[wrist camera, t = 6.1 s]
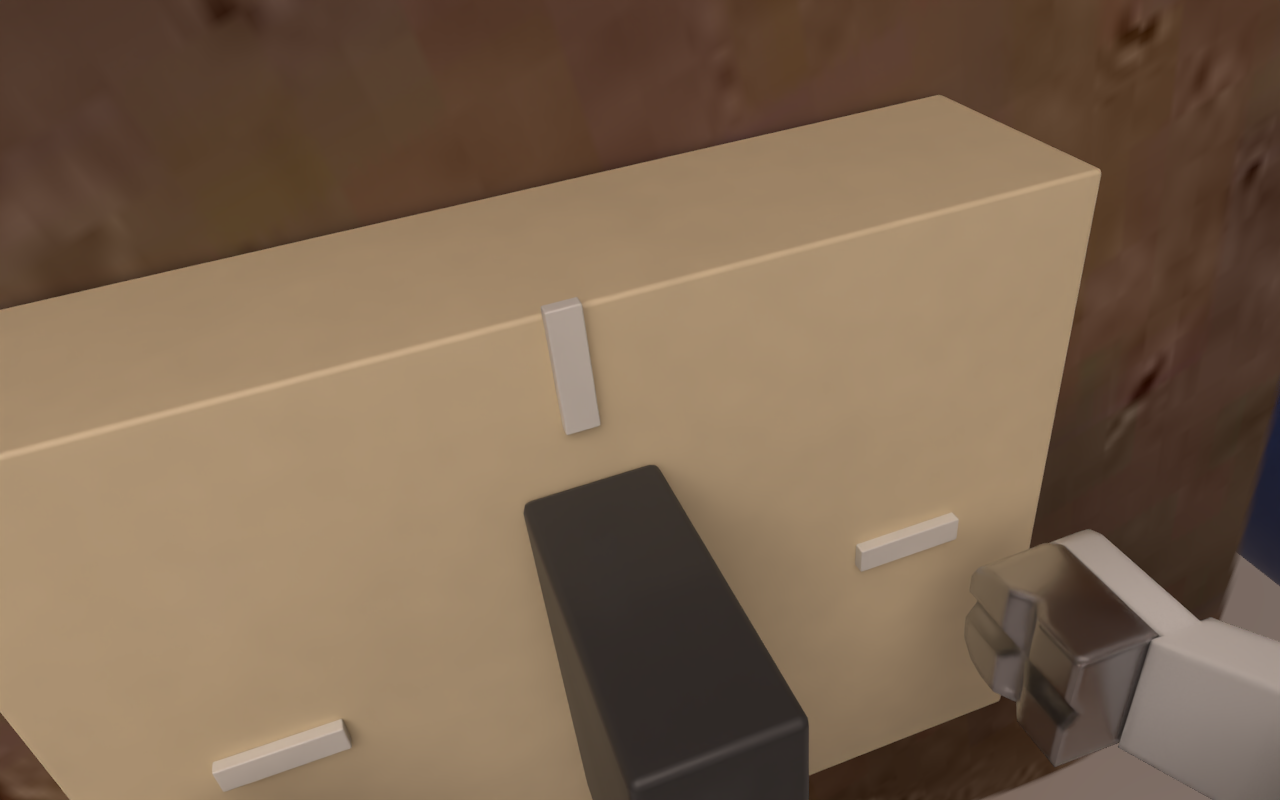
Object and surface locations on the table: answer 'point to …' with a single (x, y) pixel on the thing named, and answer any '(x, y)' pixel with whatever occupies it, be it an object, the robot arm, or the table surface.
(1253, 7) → the table surface
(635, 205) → the plate
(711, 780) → the black red-tipped block
